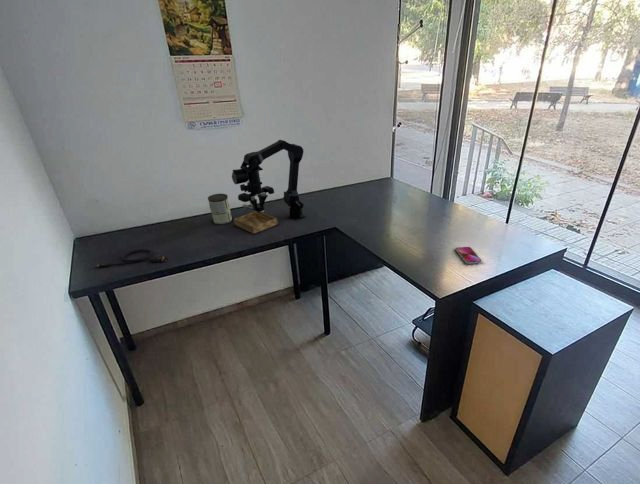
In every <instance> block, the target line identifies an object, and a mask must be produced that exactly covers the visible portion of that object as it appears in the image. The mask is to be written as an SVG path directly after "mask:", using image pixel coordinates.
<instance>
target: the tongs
mask: <svg viewBox="0 0 640 484" xmlns="http://www.w3.org/2000/svg"><path fill="white" fill-rule="evenodd" d="M242 207H243V209H248V210H251V211H253V212H255V211H256V210H255V209H254V207H253V205H252V204H251V202H250V201H249V206H248V205H247V204H245V203H244V204H242ZM257 212H259V213H264V212H266V210H265V205H263V206H261V205H260V203H259V204H258V203H257Z"/></svg>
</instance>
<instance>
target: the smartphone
mask: <svg viewBox="0 0 640 484" xmlns="http://www.w3.org/2000/svg"><path fill="white" fill-rule="evenodd" d="M455 251H456V253H458V255H459V256H460V258H461V259H462V260H463V262H464V263H465V264H467V265H470V264H472V265H473V264H481V263H482V259H481V258H480V256H478V254H477V253H476V252H475V251H474V250H473V249H472V248H471V246H459V247H455Z"/></svg>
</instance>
